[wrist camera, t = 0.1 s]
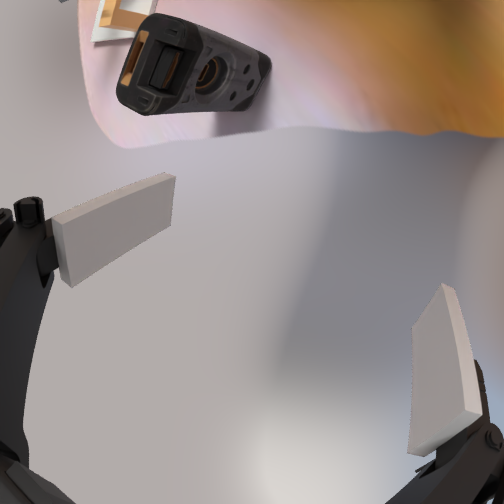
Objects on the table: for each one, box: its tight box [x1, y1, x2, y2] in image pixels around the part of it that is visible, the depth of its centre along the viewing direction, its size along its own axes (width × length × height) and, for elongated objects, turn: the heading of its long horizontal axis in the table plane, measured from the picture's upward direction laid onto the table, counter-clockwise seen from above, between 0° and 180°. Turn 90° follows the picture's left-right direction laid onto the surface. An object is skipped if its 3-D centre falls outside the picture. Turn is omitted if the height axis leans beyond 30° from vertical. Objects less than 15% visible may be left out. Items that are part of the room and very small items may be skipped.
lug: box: [99, 0, 149, 32], centre depth 31 cm, size 6×3×8 cm, turn 167°
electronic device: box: [116, 13, 271, 116], centre depth 28 cm, size 9×6×20 cm, turn 152°
